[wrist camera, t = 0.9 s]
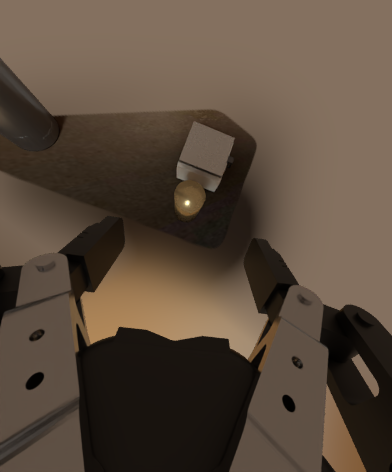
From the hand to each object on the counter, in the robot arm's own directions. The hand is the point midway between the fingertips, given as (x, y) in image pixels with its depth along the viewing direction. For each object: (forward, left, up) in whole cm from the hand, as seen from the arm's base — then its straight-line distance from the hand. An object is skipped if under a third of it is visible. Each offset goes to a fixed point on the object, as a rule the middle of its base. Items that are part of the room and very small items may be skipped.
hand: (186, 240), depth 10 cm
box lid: (-1, +19, -23) cm, 30 cm away
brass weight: (-1, +8, -25) cm, 27 cm away
